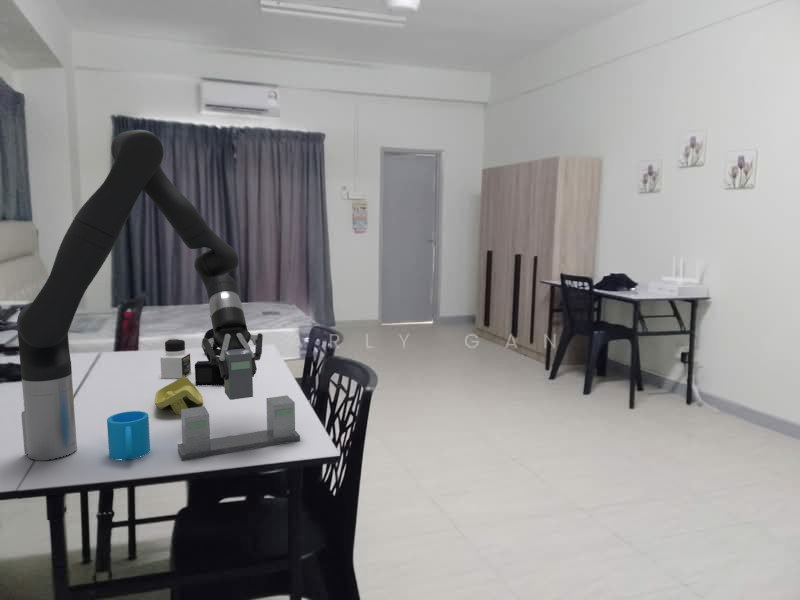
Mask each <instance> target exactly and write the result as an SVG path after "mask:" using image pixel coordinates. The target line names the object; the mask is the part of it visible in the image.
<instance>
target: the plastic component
mask: <svg viewBox="0 0 800 600" xmlns="http://www.w3.org/2000/svg"><path fill="white" fill-rule="evenodd" d="M185 397H187V398H188V399H189V401H192V402H193V403H195V404H196V405H200V404H202V403H204V401H203V396H202V394H201V393H200V391H199V390H198V389H197V386H196V385H194V384H193V382H191V380H190V379H189V378H188V377H187V376H186V377H182V378H180V379H176V380H174V381H172V382H171V383H169V384H167V385H165V386H163V387H162V388H160V389H159V390H157V391H156V392H155V397H154V404H155V405H156V406H157V407H158V408H159V409H165V408H166V407H168V406H170V407H171V409H172V410H173V412H174V413H175V415H181V409H188V408H189V407H188V405H187V403H186V402H185V400H184V398H185Z"/></svg>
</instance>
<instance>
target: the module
mask: <svg viewBox="0 0 800 600" xmlns="http://www.w3.org/2000/svg"><path fill="white" fill-rule="evenodd" d="M225 361H226V363H227V368H228V373H229V377H228V380H225V379H224V384H225V385H224V394H225V395H226V396H227V398H228V399H229V400H230V401H233V400H239V399H240V400H241V399H248V398H254V388H253V386H254V385H253V383H254V381H253V377H252V353H251V352H250V351H249V350H248V349H243V348H241V349H231V350H227V351H225Z"/></svg>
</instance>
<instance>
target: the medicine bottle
mask: <svg viewBox="0 0 800 600" xmlns="http://www.w3.org/2000/svg"><path fill="white" fill-rule="evenodd" d="M164 352H165V354H164V355H162V356H160V359H159V362H160V377H161V379H176V378H182V377H185V376H186V377H187V376H188V374H189V375H190V374H191V373H192V370H191V368H192V367H191V365H192V364H191V352H190V351H189V352H187V351H186V341H185V340H184V339H182V338H181V339H180V338H172V339H169V340H166V341H165V342H164Z"/></svg>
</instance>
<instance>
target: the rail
mask: <svg viewBox="0 0 800 600" xmlns="http://www.w3.org/2000/svg"><path fill="white" fill-rule="evenodd" d="M265 400H266V429H265V430H258V431H252V432H245V433H240V434H233V435H227V436H222V437H220V436H219V437H214V438H211V432H210V431H211V427H210V425H211V424H210V413H209V411H208V410H207V408H206V406H205V405H204V406H197V407H190V408H189V407H188V408H187V409H181V413H180V416H181V417H180V418H181V421H180V422H181V437H182V439H181V440H182V441H181V442H182V443H177V451H179V452H178V454H179V456H180V460H181V461H189V460H194V459H199V458H207V457H212V456H218V455H224V454H229V453H235V452H241V451H246V450H251V449H252V450H253V449H260V448H264V447H265V448H266V447H270V446H276V445H281V444H283V445H284V444H288V443H293V442H300V441H301V435H300V433H298V432H297V431H296V411H295V410H296V407H295V406H296V403H295V402H296V401H294V400H293V399H292V398H291V397H289V396H288V395H279V396H272V397H266V399H265Z"/></svg>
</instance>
